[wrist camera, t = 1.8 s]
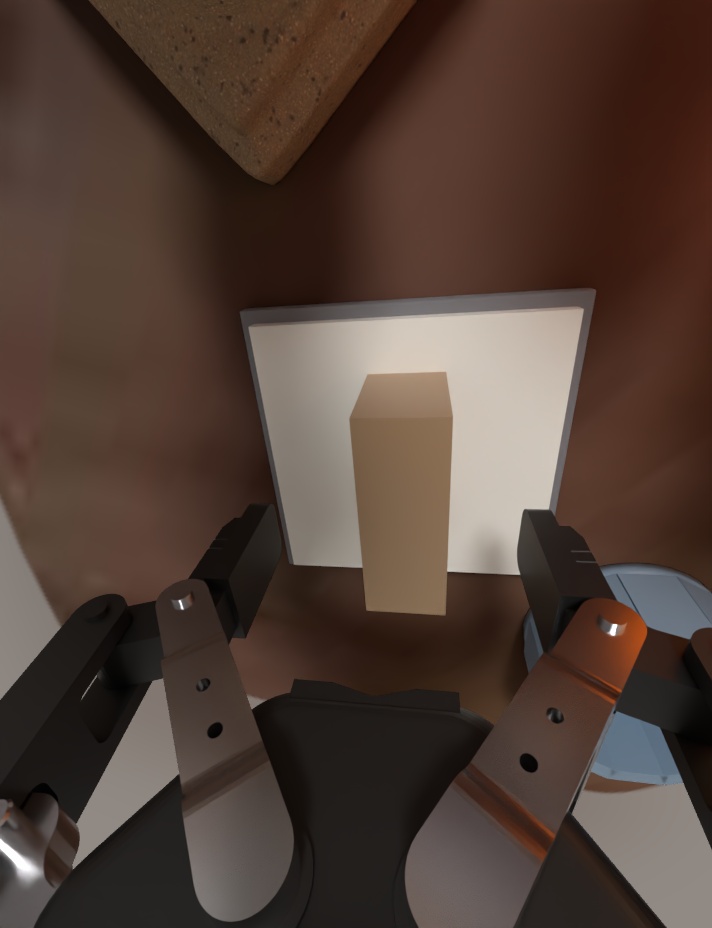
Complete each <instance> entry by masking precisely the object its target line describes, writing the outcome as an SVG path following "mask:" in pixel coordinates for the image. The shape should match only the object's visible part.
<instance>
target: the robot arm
mask: <svg viewBox="0 0 712 928" xmlns="http://www.w3.org/2000/svg"><path fill="white" fill-rule="evenodd" d="M281 550H282V541H281V535H280V530H279V525H278V520H277V515H276V510H275V507H274V505H273V504H250V505H249V506H248V507H247V509H246V510H245V512H244V514H243V515H242V517H241V518H234V519H233V520H231V521H230V522H229V523H228V524H226V525H225V526H224V527H222V529H221V530H220V532H219V533H218V535H217V536H216V540H214V541H213V542H212V544H211V545H210V549H208V550H207V551H206V553H205V554H204V556H203V557H202V559H201V560H200V562H199V563H198V565H197V566H196V568H195V569H194V571H193V572H192V574H191V575H190V577H189V578H188V579H186V580H182V581H179V582H177V583H174V584H172V585H171V586H169V587H168V588H166V589H165V590H164V591H163V592H162V593H161V594H160V595H159V597H158V598H157V600H156V601H152V602H147V603H142V604H137V605H132V606H128V605H127V603H126V601H125V599H124V598H123V597H122V596H120V595H118V594H106V595H102V596H98V597H96V598H93V599H91V600H89V601H88V602H86V603H84V604H83V605H82V606H80V607H79V608H78V609H77V610H76V611H75V612H74V613H73V614H72V615H71V616H70V618H69V619H68V620H67V621H66V622H65V624H64V625H63V626H62V627H61V628H60V630H59V631H58V632H57V633H56V634H55V636H54V637H53V638H52V639H51V640H50V641H49V643H48V644H47V645H46V646H45V648H44V649H43V650H42V651H41V652H40V654H39V655H38V656H37V657H36V658H35V659H34V661H33V662H32V663H31V664H30V665H29V667H28V668H27V669H26V670H25V671H24V672H23V674H22V675H21V676H20V677H19V678H18V680H17V681H16V682H15V683H14V684H13V686H12V687H11V688H10V689H9V690H8V692H7V693H6V694H5V695H4V696H3V698H2V699H1V700H0V928H666V926H665V925H664V924H663V923H662V922H661V920H660V919H659V918H658V917H657V916H656V914H655V913H654V912H653V911H652V910H651V909H650V907H649V906H648V905H647V904H646V903H645V901H644V900H643V899H642V898H641V897H640V895H639V894H638V893H637V892H636V891H635V889H634V888H633V887H632V886H631V884H630V883H629V882H628V881H627V880H626V878H625V877H624V876H623V875H622V874H621V873H620V871H619V870H618V869H617V868H616V866H615V865H614V864H613V863H612V862H611V861H610V859H609V858H608V857H607V856H606V855H605V854H604V852H603V851H602V850H601V849H600V847H599V846H598V845H597V844H596V843H595V841H594V840H593V839H592V838H591V837H590V835H589V834H588V833H587V832H586V831H585V830H584V828H583V827H582V826H581V825H580V824H579V822H578V821H577V820H576V819H575V818H574V816H573V812H574V810H575V808H576V805H577V803H578V801H579V798H580V796H581V794H582V791H583V789H584V786H585V784H586V782H587V779H588V777H589V774H590V772H591V770H592V767H593V765H594V763H595V760H596V758H597V756H598V754H599V751H600V749H601V747H602V744H603V742H604V740H605V738H606V735H607V733H608V731H609V729H610V726H611V724H612V722H613V719H614V717H615V715H616V713H617V712H620V713H622V714H625V715H628V716H631V717H633V718H636V719H639V720H641V721H644V722H647V723H650V724H652V725H655V726H658V727H660V729H661V731H662V734H663V736H664V738H665V741H666V743H667V745H668V748H669V750H670V752H671V755H672V757H673V759H674V762H675V764H676V767H677V769H678V771H679V774H680V776H681V778H682V781H683V783H684V785H685V788H686V790H687V792H688V795H689V797H690V799H691V802H692V804H693V806H694V809H695V811H696V813H697V816H698V818H699V820H700V823H701V825H702V827H703V830H704V832H705V835H706V837H707V839H708V841H709V844H710V846H711V849H712V628H709V627H708V628H701V629H698V630H696V631H695V632H694V633H693V634H692V636H691V638H690V639H687V638H683V637H680V636H676V635H673V634H669V633H665V632H662V631H659V630H656V629H653V628H650V627H648V626H646V624H645V622H644V621H643V619H642V618H641V617H640V616H639V615H638V614H637V613H636V612H635V611H634V610H633V609H631V608H630V607H628V606H626V605H625V604H623V603H620V602H618V601H617V599H616V597H615V595H614V593H613V592H612V590H611V588H610V586H609V584H608V582H607V580H606V579H605V577H604V575H603V573H602V571H601V569H600V568H599V566H598V564H597V563H596V560H595V558H594V556H593V555H592V553H590V549H589V547H588V545H587V544H586V542H585V540H584V538H583V537H582V536H581V535H580V534H578V533H577V532H576V531H575V530H574V529H572V528H571V527H570V526H559V525H558V523H557V521H556V519H555V516H554V514H553V512H552V511H551V510H550V509H524V510H523V513H522V519H521V526H520V532H519V539H518V546H517V563H518V568H519V572H520V575H521V579H522V582H523V585H524V589H525V592H526V595H527V599H528V602H529V605H530V609H531V612H532V615H533V619H534V622H535V626H536V629H537V632H538V636H539V639H540V642H541V646H542V649H543V652H544V653H543V654H542V655H541V656H540V658H539V659H538V661H537V662H536V664H535V665H534V667H533V668H532V670H531V671H530V673H529V674H528V676H527V677H526V679H525V680H524V682H523V683H522V685H521V686H520V688H519V689H518V691H517V693H516V694H515V696H514V697H513V699H512V700H511V702H510V703H509V705H508V706H507V708H506V709H505V711H504V712H503V714H502V715H501V717H500V718H499V720H498V721H497V723H496V724H495V726H494V725H493V724H491V723H490V722H489V721H487V720H486V719H484V718H483V717H481V716H479V715H478V714H476V713H474V712H472V711H470V710H467V709H465V708H462V707H460V701H459V693H457V692H445V691H433V690H421V689H414V690H409V691H403V692H397V693H391V694H385V695H379V696H371V695H367V694H364V693H362V692H359V691H356V690H353V689H350V688H348V687H345V686H342V685H339V684H336V683H333V682H323V681H311V680H299V679H294V682H293V685H292V689H291V693H286V694H282V695H279V696H276V697H274V698H271V699H269V700H267V701H265V702H263V703H261V704H260V705H258V706H256V707H255V708H253V709H252V710H251V707H250V704H249V701H248V698H247V695H246V693H245V690H244V687H243V684H242V681H241V678H240V676H239V673H238V670H237V667H236V664H235V661H234V658H233V656H232V653H231V650H230V647H229V643H230V641H231V639H232V638H246V636H247V634H248V632H249V629H250V627H251V625H252V622H253V620H254V618H255V615H256V613H257V611H258V608H259V606H260V604H261V601H262V599H263V597H264V594H265V592H266V590H267V587H268V585H269V583H270V580H271V578H272V576H273V573H274V571H275V569H276V566H277V564H278V562H279V559H280V556H281ZM96 675H97V678H96V679H95V680H94V682H93V683H92V685H91V687H90V688H89V689H88V691H87V693H86V694H85V696H84V697H83V699H82V700H81V698H82V696H83V694H84V693H85V691H86V690H87V688H88V687H89V685H90V684H91V682H92V680H93V679H94V678H95V676H96ZM162 678H163V680H164V686H165V692H166V698H167V703H168V710H169V716H170V721H171V727H172V733H173V739H174V745H175V751H176V757H177V763H178V769H179V775H177V776H176V777H175V778H174V779H173V780H172V781H171V782H169V784H167V785H166V786H165V787H164V788H163V789H162V790H161V791H159V792H158V793H157V794H156V795H155V796H154V797H153V798H152V799H151V800H149V801H148V802H147V803H146V804H145V805H144V806H143V807H142V808H140V809H139V810H138V811H137V812H136V813H135V814H134V815H133V816H132V817H131V818H129V819H128V820H127V821H126V822H125V823H124V824H123V825H121V826H120V827H119V828H118V829H117V830H116V831H115V832H114V833H112V834H111V835H110V836H109V837H108V838H107V839H106V840H105V841H104V842H102V843H101V844H100V845H99V846H98V847H97V848H96V849H95V850H93V851H92V852H91V853H90V854H89V855H88V856H87V857H86V858H85V859H84V860H83V861H82V862H81V863H80V864H78V865H77V866H76V867H75V868H74V869H73V866H72V864H73V861H74V859H75V856H76V854H77V851H78V847H79V841H80V835H79V829H78V827H77V825H76V823H77V821H78V819H79V818H80V816H81V814H82V812H83V810H84V808H85V807H86V805H87V803H88V801H89V799H90V797H91V795H92V793H93V792H94V790H95V788H96V786H97V784H98V782H99V780H100V778H101V776H102V775H103V773H104V771H105V769H106V767H107V765H108V763H109V761H110V760H111V758H112V756H113V754H114V752H115V750H116V748H117V746H118V745H119V743H120V741H121V739H122V737H123V735H124V733H125V731H126V729H127V728H128V725H129V724H130V722H131V720H132V718H133V716H134V715H135V713H136V711H137V709H138V707H139V705H140V703H141V701H142V700H143V697H144V696H145V694H146V692H147V690H148V688H149V686H150V685H151V683H152V681H153V680H158V679H162ZM80 701H81V702H80Z"/></svg>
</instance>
